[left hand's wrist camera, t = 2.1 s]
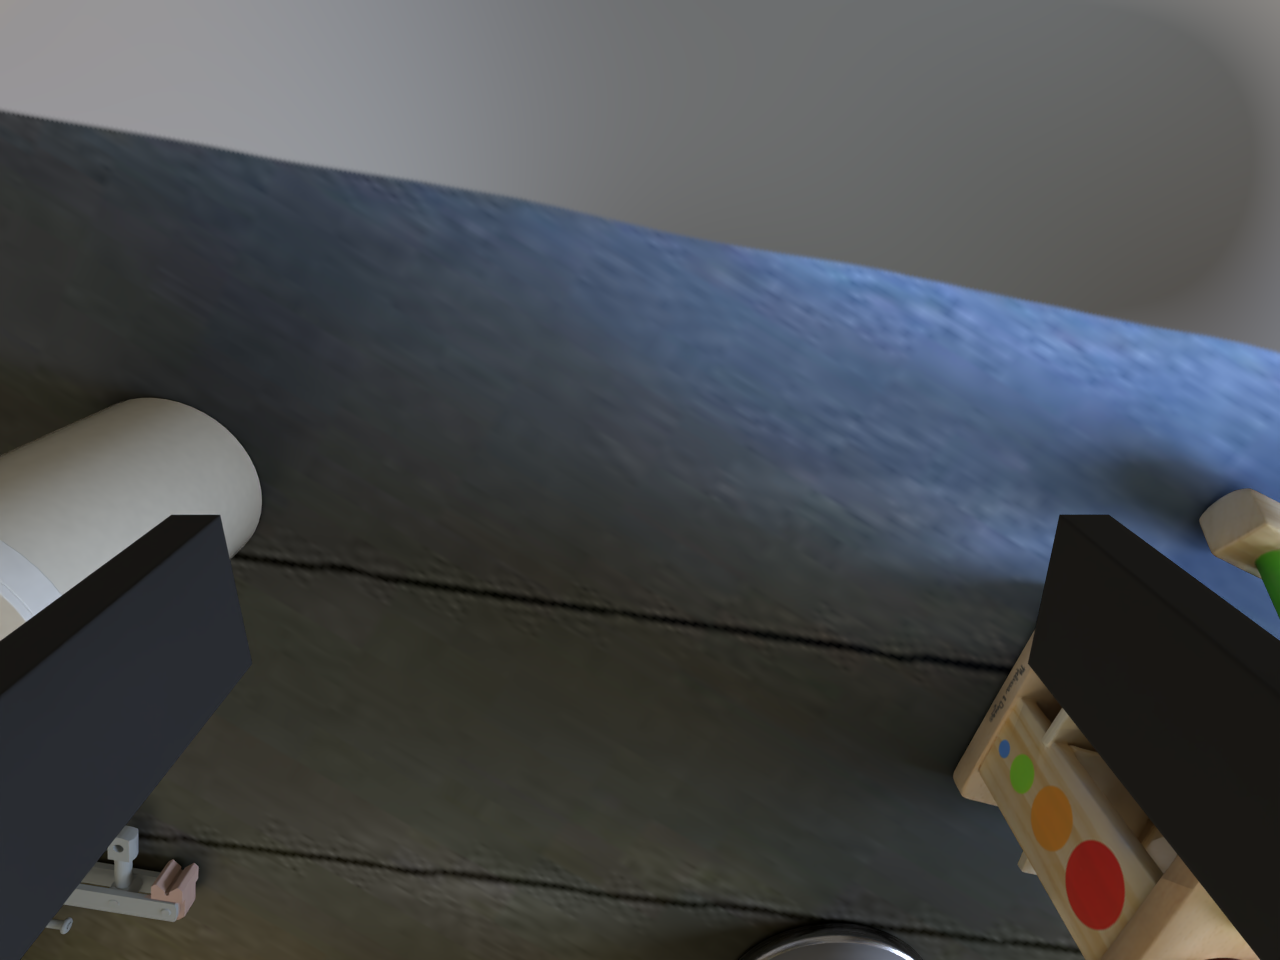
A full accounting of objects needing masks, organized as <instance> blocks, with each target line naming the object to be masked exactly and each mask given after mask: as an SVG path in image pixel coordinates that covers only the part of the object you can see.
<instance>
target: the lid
mask: <svg viewBox="0 0 1280 960" xmlns="http://www.w3.org/2000/svg"><path fill="white" fill-rule="evenodd" d="M60 596H62V595H61V593H60V592H59V591H58V590H57V588H56V587H55V586H54V585H53V583H52V582H51V581H50V580H49V579H48V578H47V577H46V576H45V575H44V574H43V573H42V572H41V571H40V570H39V569H38V568H37V567H36V566H35V565H34V564H32V563H31V562H30V561H29V560H28V559H26V558H25V557H24V556H23V555H22V554H20V553H19V552H17V551H16V550H15V549H13V548H12V547H10V546H9V545H7V544H6V543H4V542H3V541H1V540H0V641H1V640H2V639H3V638H5V637H6V636H7V635H9V634H10V633H12V632H13V631H14V630H16V629H17V628H18V627H20V626H21V625H22V624H24V623H25V622H26V621H28V620H29V619H31V618H32V617H33V616H35V615H36V614H37V613H39V612H40V611H41V610H43V609H44V608H45V607H47V606H48V605H50V604H51V603H52V602H54V601H55V600H56V599H58V598H59V597H60Z"/></svg>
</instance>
